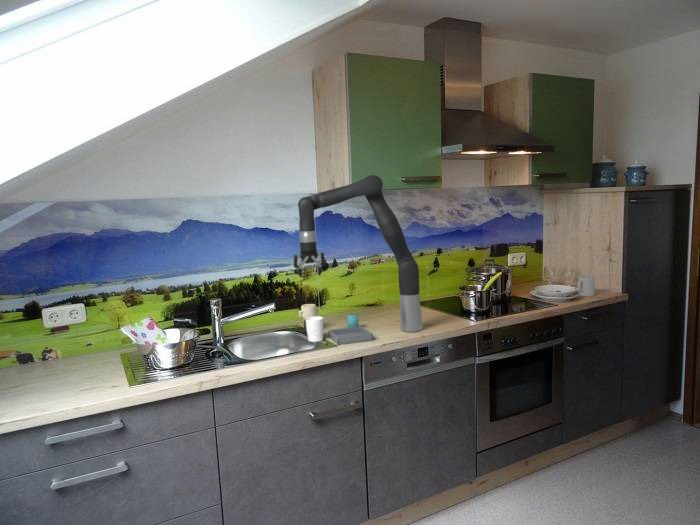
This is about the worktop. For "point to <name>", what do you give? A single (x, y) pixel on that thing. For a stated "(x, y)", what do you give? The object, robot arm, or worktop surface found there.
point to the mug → (586, 285)
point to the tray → (350, 335)
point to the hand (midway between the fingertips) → (310, 276)
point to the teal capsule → (352, 320)
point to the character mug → (308, 312)
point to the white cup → (314, 328)
